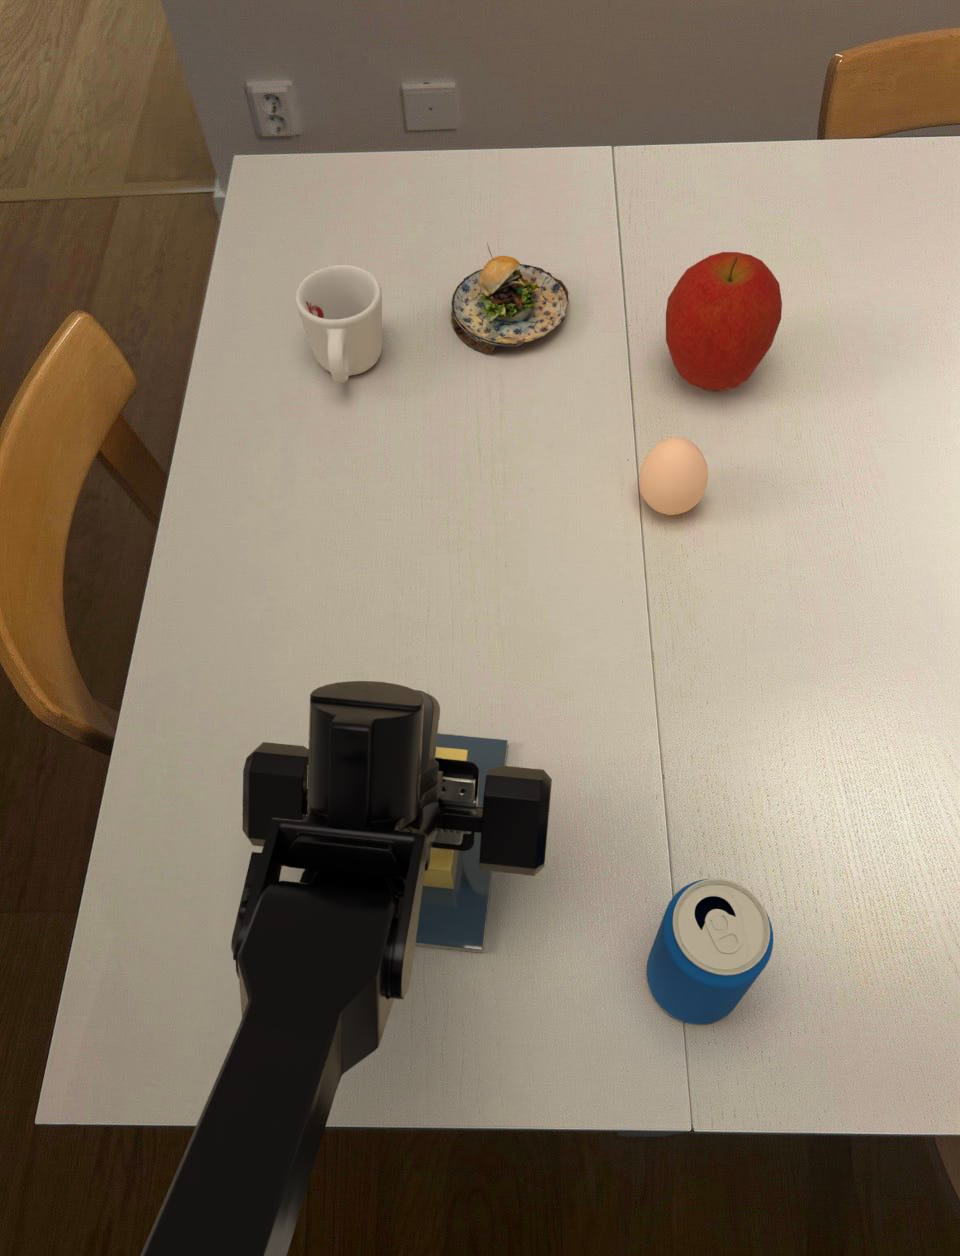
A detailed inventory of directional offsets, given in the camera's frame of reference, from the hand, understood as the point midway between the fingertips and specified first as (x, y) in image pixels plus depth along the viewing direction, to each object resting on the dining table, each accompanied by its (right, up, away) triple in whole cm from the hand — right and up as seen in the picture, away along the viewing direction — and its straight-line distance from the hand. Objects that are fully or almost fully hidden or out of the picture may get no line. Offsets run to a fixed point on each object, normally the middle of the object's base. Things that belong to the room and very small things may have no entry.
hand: (419, 762), depth 73 cm
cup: (-9, +35, +31) cm, 47 cm away
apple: (+26, +33, +28) cm, 51 cm away
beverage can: (+19, -15, -1) cm, 24 cm away
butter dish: (0, -6, +5) cm, 8 cm away
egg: (+21, +20, +20) cm, 35 cm away
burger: (+7, +41, +34) cm, 53 cm away
